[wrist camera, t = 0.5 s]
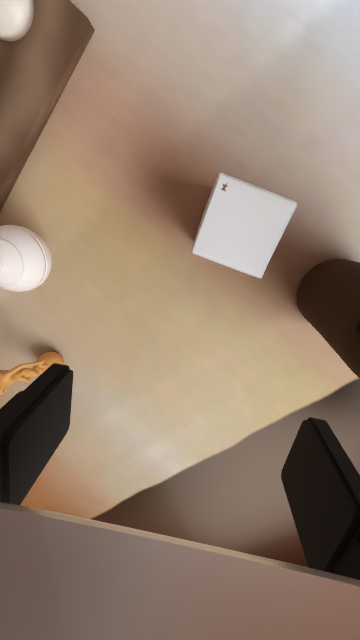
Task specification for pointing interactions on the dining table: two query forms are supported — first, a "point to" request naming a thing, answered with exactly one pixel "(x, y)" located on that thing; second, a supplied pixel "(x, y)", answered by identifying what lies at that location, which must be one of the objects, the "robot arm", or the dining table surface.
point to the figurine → (28, 370)
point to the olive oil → (334, 307)
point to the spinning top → (22, 259)
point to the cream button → (15, 18)
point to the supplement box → (242, 225)
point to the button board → (36, 80)
